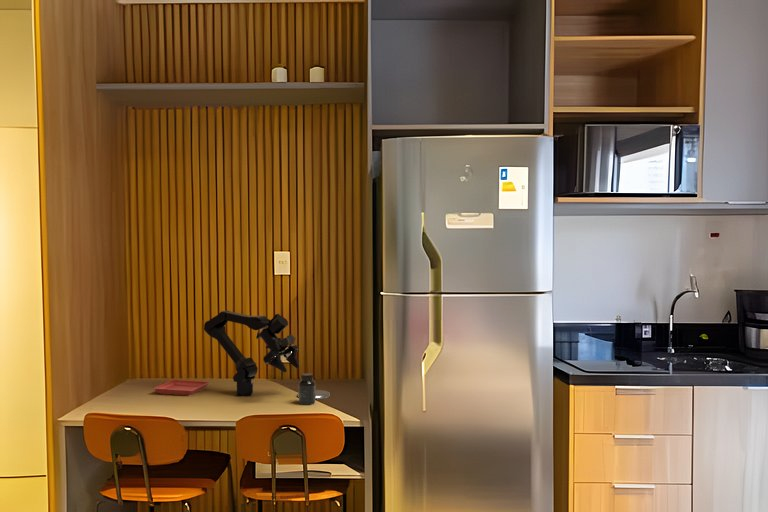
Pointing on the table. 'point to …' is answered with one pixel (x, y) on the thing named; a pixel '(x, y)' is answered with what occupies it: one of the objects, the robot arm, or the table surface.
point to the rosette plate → (320, 394)
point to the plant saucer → (181, 387)
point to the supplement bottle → (307, 389)
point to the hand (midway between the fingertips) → (292, 369)
